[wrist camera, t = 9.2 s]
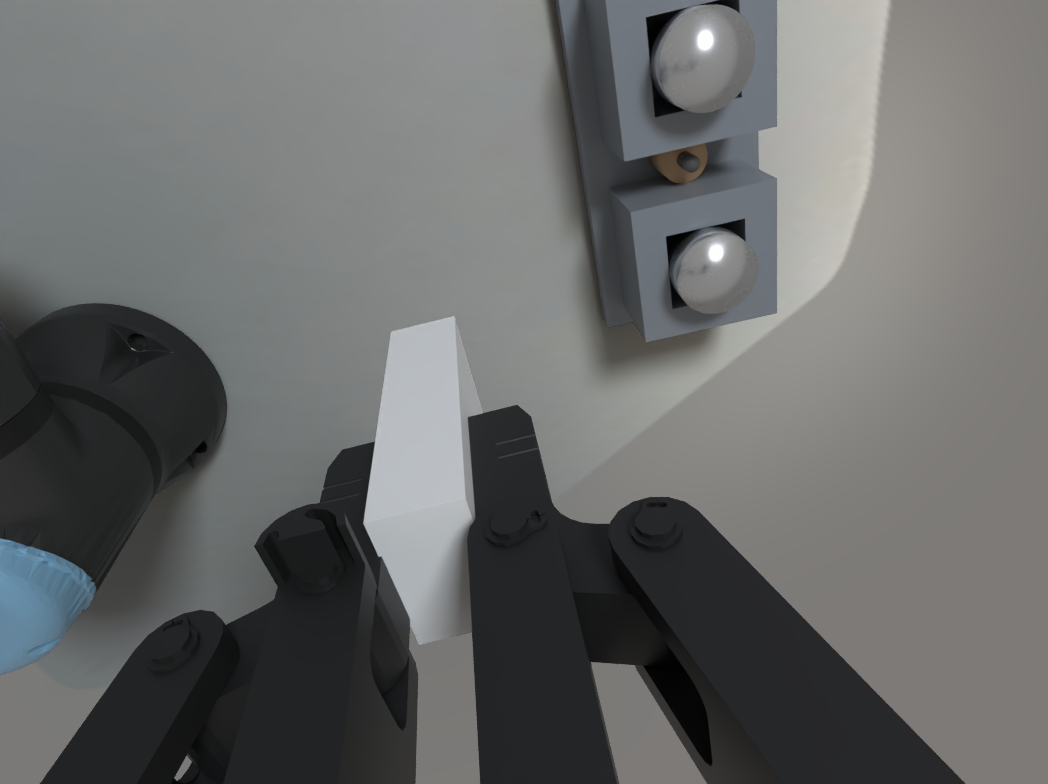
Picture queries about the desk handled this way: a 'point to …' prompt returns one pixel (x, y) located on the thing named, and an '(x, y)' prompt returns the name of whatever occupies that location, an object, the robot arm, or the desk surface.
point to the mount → (666, 161)
